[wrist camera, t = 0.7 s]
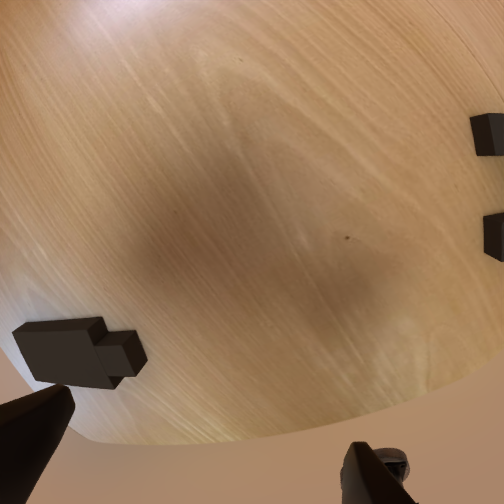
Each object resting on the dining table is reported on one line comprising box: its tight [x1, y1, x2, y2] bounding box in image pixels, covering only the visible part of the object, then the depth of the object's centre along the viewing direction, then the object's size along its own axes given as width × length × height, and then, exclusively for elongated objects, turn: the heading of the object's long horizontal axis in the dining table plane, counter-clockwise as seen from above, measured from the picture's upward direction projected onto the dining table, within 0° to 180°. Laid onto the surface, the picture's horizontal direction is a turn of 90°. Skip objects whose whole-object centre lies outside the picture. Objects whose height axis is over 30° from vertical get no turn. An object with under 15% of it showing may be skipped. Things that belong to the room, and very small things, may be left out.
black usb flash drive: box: [12, 317, 148, 390], centre depth 24 cm, size 6×15×2 cm, turn 102°
